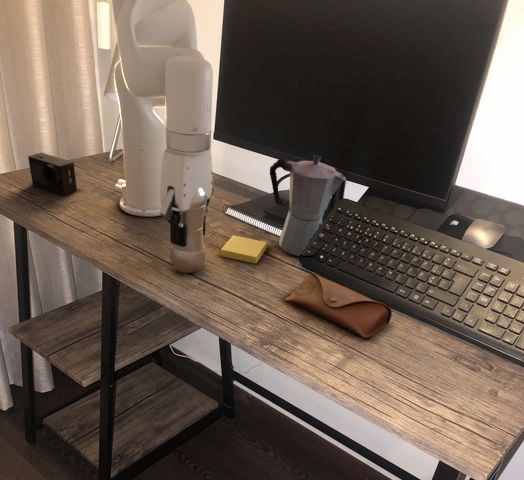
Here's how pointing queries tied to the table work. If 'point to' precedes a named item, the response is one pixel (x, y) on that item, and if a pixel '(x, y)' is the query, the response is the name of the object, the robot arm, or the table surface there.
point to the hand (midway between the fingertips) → (188, 238)
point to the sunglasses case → (341, 306)
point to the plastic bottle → (191, 236)
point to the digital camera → (52, 173)
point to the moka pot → (304, 199)
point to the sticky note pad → (244, 249)
